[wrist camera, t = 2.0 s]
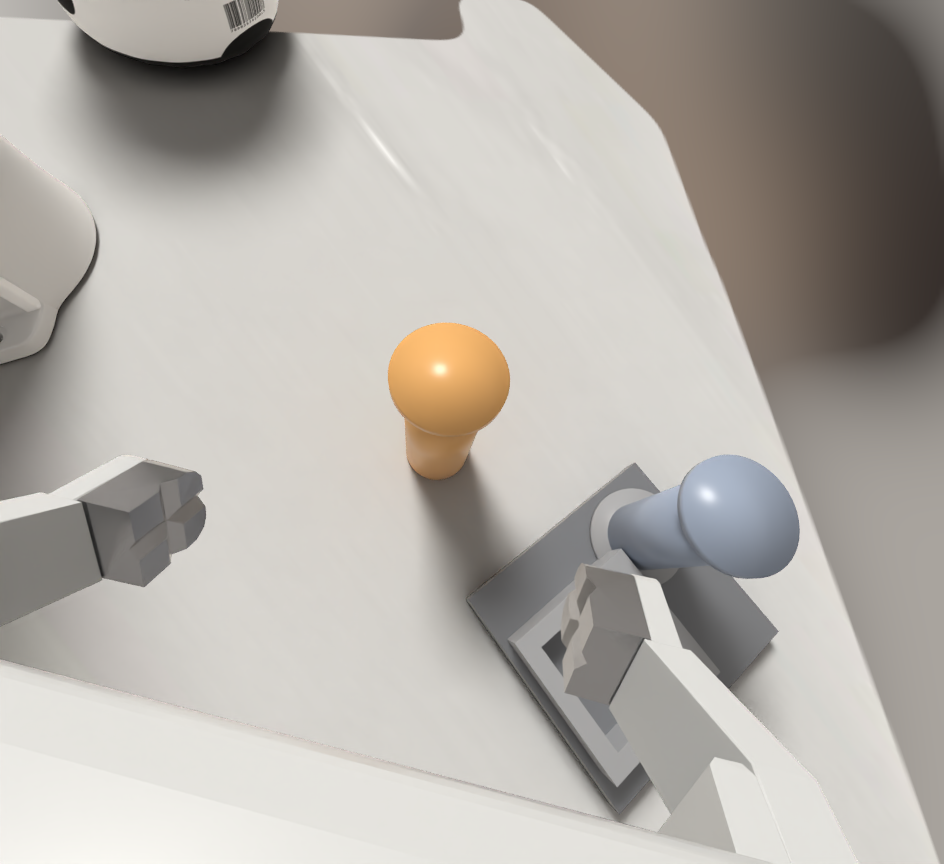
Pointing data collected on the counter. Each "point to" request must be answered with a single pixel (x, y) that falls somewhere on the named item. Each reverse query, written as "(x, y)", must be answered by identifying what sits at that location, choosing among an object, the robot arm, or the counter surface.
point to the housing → (655, 556)
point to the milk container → (174, 28)
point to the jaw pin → (446, 393)
